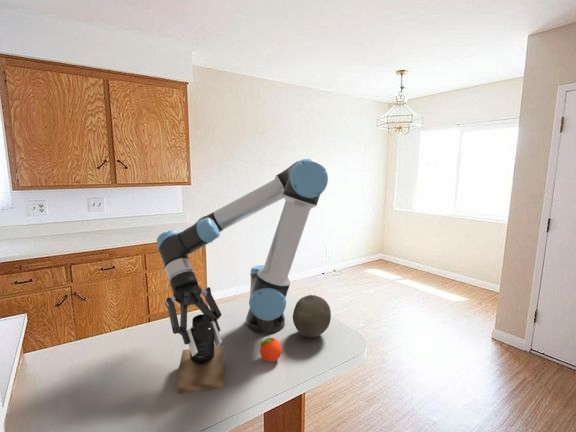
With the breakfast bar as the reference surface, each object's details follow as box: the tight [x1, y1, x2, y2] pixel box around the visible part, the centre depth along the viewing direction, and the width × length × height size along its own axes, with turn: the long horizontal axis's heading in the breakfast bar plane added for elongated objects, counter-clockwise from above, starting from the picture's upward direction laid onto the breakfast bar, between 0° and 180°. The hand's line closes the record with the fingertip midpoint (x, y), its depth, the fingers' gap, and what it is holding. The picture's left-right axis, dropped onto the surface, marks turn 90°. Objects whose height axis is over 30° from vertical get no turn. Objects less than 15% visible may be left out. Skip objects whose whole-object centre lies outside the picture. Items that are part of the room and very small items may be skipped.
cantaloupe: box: [292, 294, 332, 338], centre depth 108 cm, size 14×14×15 cm
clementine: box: [257, 337, 283, 363], centre depth 95 cm, size 8×7×7 cm
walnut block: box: [176, 345, 225, 394], centre depth 87 cm, size 12×12×5 cm
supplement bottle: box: [190, 313, 215, 364], centre depth 86 cm, size 7×7×12 cm
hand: (207, 349), depth 83 cm, fingers closed on supplement bottle, 7 cm apart
